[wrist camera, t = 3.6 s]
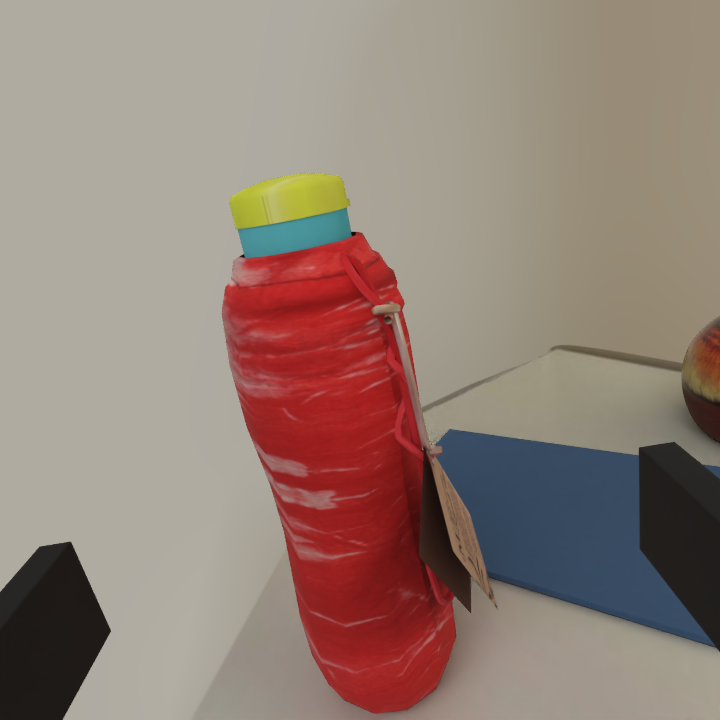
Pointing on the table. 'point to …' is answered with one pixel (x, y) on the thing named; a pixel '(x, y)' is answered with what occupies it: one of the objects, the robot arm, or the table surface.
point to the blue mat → (563, 525)
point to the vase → (704, 379)
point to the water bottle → (346, 444)
